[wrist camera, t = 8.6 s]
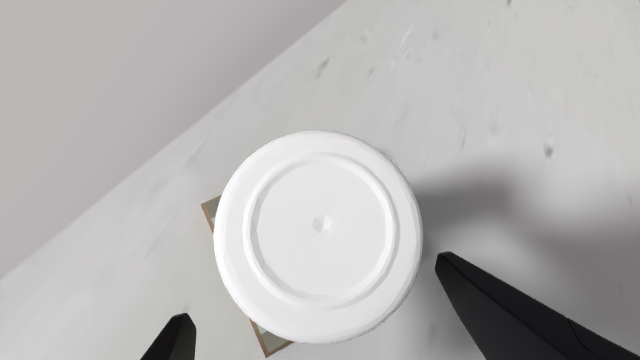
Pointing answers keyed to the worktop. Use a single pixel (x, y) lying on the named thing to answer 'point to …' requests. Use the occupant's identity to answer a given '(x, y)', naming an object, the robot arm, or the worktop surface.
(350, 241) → the sprinkles bottle
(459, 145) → the worktop surface
